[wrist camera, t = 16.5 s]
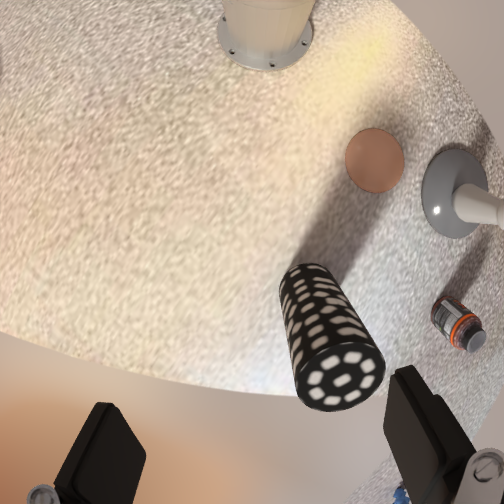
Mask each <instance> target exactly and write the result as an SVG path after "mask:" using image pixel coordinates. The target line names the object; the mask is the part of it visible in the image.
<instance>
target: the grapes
mask: <svg viewBox="0 0 504 504" xmlns="http://www.w3.org/2000/svg"><path fill="white" fill-rule="evenodd" d="M405 495H406V492H405V491H404V489H401V488H398V489H397V490H396V491H395V494H394V496H393V497H395V498H396V500H395V502H394V503H393V504H409V501H410V498H408V497H406V496H405Z"/></svg>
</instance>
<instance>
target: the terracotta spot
mask: <svg viewBox="0 0 504 504" xmlns="http://www.w3.org/2000/svg"><path fill="white" fill-rule="evenodd" d="M345 161H346V167H347V171H348V173H349V175H350V177H351V179H352V180H353V181H354V183H355V184H356V185H357V186H359V187H360V188H362V189H363V190H365V191H368V192H372V193H381V192H385V191H388V190H389V189H391V188H392V187H394V186H395V185H396V184H397V182H398V181H399V180H400V178H401V176H402V173H403V169H404V156H403V152H402V149H401V147H400V145H399V143H398V142H397V141H396V139H395V138H394V137H393V136H391V135H390V134H389V133H387V132H385V131H383V130H380V129H366V130H363V131H361V132H359V133H358V134H356V135H355V136H354V137H353V138H352V139H351V141H350V143H349V145H348V147H347V150H346V157H345Z"/></svg>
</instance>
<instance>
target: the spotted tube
mask: <svg viewBox="0 0 504 504" xmlns="http://www.w3.org/2000/svg"><path fill="white" fill-rule="evenodd" d="M279 297H280V302H281V308H282V313H283V319H284V324H285V330H286V335H287V341H288V346H289V352H290V358H291V364H292V369H293V375H294V381H295V387H296V391H297V395H298V397H299V398H300V400H301V401H302V402H303V403H304V404H305V405H306V406H308V407H310V408H312V409H315V410H318V411H325V412H336V411H341V410H346V409H349V408H352V407H354V406H356V405H358V404H360V403H362V402H363V401H365V400H366V399H367V398H369V397H370V396H371V395H372V394H373V393H374V392H375V391H376V390H377V389H378V387H379V386H380V384H381V383H382V380H383V378H384V375H385V370H386V366H385V360H384V357H383V355H382V354H381V352H380V350H379V349H378V347H377V345H376V344H375V342H374V340H373V339H372V337H371V335H370V334H369V332H368V331H367V329H366V327H365V326H364V324H363V323H362V321H361V319H360V318H359V316H358V315H357V313H356V311H355V310H354V308H353V307H352V305H351V303H350V302H349V300H348V299H347V297H346V296H345V294H344V293H343V291H342V289H341V288H340V286H339V285H338V283H337V282H336V280H335V279H334V277H333V276H332V274H331V273H330V272H329V271H328V270H327V269H326V268H325V267H323V266H321V265H318V264H313V263H306V264H301V265H298V266H296V267H294V268H292V269H291V270H290V271H288V272H287V274H286V275H285V276H284V277H283V279H282V281H281V284H280V287H279Z"/></svg>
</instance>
